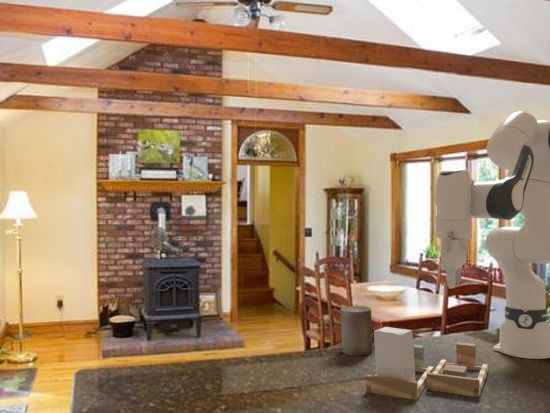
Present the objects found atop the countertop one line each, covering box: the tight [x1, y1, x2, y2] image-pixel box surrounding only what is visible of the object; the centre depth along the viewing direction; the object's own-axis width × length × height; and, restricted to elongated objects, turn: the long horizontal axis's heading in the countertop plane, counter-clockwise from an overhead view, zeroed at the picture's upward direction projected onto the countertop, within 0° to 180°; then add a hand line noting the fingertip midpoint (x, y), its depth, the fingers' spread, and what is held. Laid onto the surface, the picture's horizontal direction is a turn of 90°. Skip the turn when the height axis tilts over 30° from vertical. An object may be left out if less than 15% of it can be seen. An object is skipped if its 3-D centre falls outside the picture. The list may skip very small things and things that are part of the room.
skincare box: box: [373, 326, 416, 381], centre depth 133 cm, size 8×6×15 cm
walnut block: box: [442, 364, 468, 377], centre depth 134 cm, size 5×5×5 cm
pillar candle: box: [340, 304, 373, 357], centre depth 168 cm, size 10×10×15 cm
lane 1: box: [365, 344, 435, 401], centre depth 140 cm, size 27×12×6 cm, turn 153°
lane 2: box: [426, 341, 489, 398], centre depth 141 cm, size 27×12×6 cm, turn 153°
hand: (454, 284), depth 137 cm, fingers open, 8 cm apart
